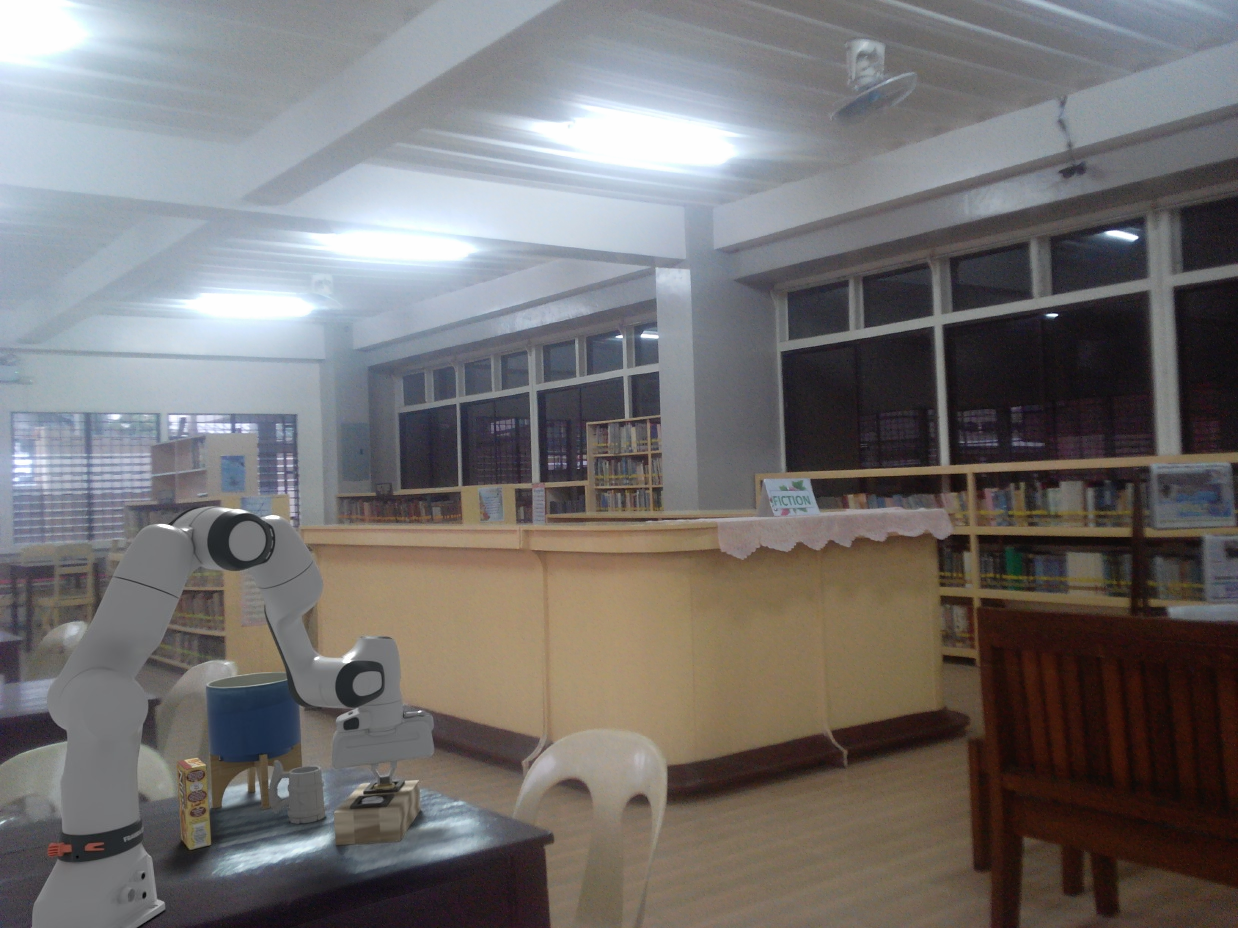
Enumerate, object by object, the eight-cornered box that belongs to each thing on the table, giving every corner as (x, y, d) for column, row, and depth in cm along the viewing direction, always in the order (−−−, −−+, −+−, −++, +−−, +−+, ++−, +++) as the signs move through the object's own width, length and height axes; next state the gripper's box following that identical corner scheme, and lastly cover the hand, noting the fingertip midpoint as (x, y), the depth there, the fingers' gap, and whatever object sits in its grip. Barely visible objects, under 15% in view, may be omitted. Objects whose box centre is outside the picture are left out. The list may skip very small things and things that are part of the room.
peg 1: (382, 836, 197) (380, 801, 198) (361, 837, 197) (359, 802, 198) (387, 829, 201) (385, 795, 202) (366, 830, 201) (364, 796, 202)
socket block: (399, 841, 194) (397, 805, 194) (335, 844, 194) (333, 809, 195) (420, 809, 214) (419, 776, 214) (362, 812, 214) (360, 780, 215)
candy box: (212, 845, 199) (208, 764, 199) (188, 850, 196) (184, 768, 197) (202, 834, 206) (198, 756, 207) (179, 839, 204) (175, 760, 204)
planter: (218, 818, 217) (212, 690, 218) (206, 797, 234) (200, 679, 235) (312, 800, 227) (306, 678, 228) (294, 782, 243) (288, 668, 244)
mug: (318, 823, 209) (315, 762, 209) (261, 825, 210) (258, 765, 210) (332, 811, 217) (329, 753, 217) (277, 813, 218) (274, 755, 218)
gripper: (431, 706, 216) (435, 773, 215) (328, 718, 210) (332, 787, 210) (434, 711, 210) (438, 781, 209) (329, 724, 204) (333, 795, 204)
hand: (384, 784), depth 210 cm, fingers closed, pressing on peg 2
